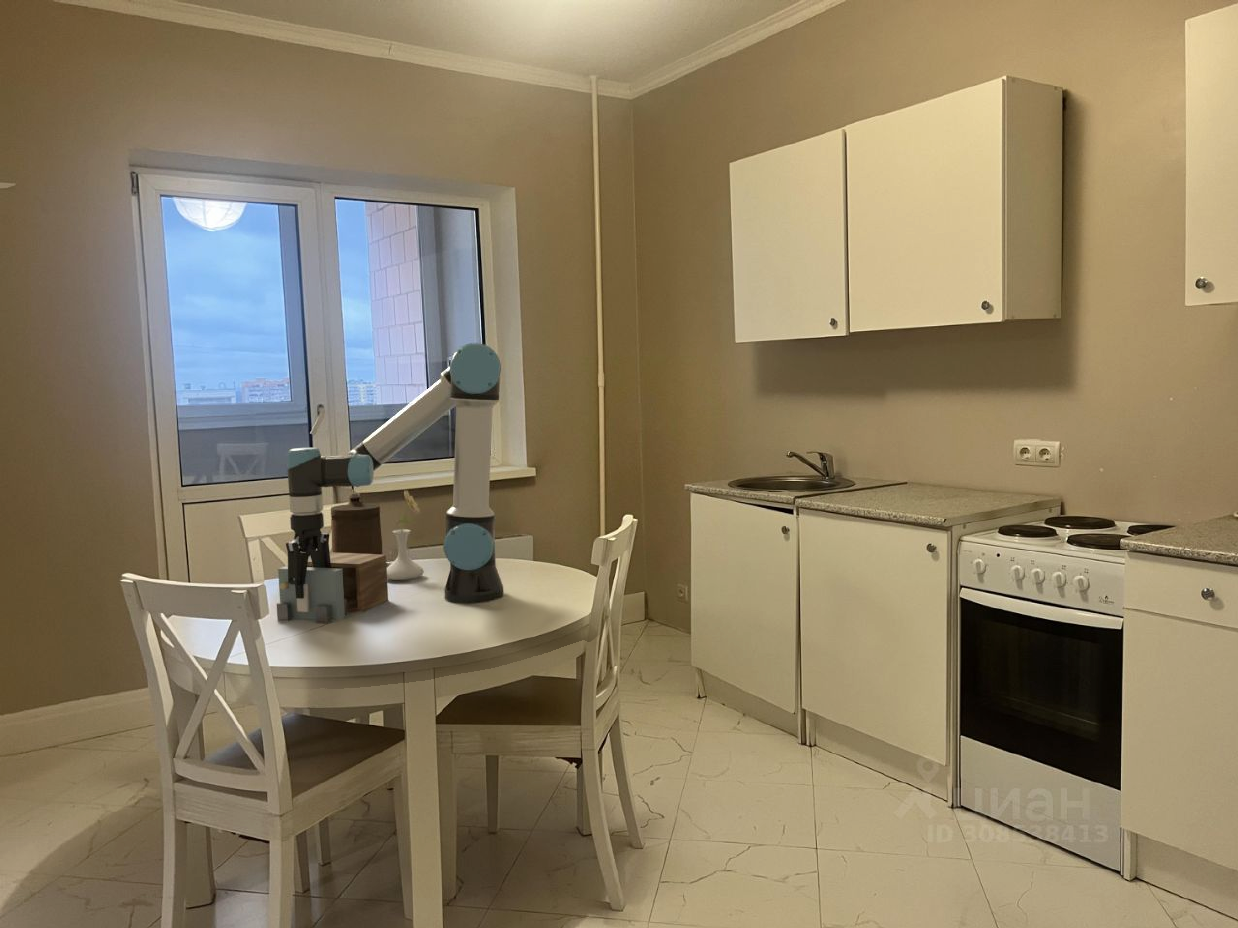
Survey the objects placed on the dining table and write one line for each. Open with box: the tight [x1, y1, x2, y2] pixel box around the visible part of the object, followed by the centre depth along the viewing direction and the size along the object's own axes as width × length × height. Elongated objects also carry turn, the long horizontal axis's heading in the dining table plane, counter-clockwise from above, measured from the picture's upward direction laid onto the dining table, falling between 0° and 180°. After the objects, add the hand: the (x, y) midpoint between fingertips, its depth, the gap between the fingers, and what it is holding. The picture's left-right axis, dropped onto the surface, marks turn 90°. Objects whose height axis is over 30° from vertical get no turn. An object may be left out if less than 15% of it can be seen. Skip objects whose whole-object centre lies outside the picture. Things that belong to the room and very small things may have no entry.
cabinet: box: [307, 551, 389, 613], centre depth 237 cm, size 18×12×12 cm, turn 72°
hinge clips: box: [276, 599, 348, 624], centre depth 225 cm, size 14×8×4 cm, turn 72°
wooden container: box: [330, 493, 384, 555], centre depth 287 cm, size 15×15×22 cm
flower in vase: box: [387, 490, 425, 581], centre depth 266 cm, size 13×11×25 cm
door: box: [277, 565, 346, 622], centre depth 224 cm, size 16×4×12 cm, turn 72°
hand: (312, 607), depth 225 cm, fingers open, 6 cm apart
